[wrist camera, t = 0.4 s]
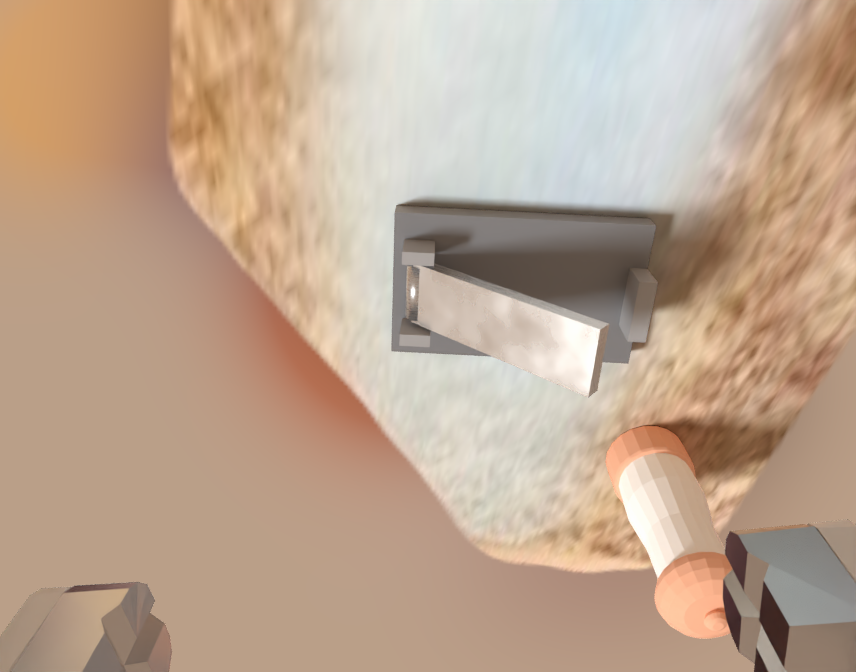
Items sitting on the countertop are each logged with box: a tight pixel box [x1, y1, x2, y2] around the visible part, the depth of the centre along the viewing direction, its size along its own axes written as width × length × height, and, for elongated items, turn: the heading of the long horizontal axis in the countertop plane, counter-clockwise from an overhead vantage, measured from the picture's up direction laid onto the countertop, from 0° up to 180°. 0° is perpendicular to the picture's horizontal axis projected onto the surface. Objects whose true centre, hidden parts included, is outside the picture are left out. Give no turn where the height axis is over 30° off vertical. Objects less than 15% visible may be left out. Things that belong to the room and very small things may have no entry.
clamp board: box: [391, 205, 658, 363], centre depth 53 cm, size 12×20×5 cm, turn 87°
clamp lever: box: [405, 263, 609, 397], centre depth 49 cm, size 5×17×2 cm
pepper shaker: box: [606, 426, 732, 638], centre depth 55 cm, size 7×7×19 cm
